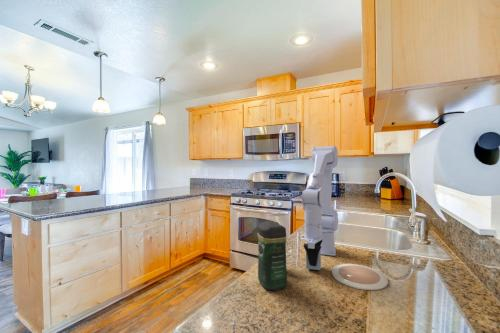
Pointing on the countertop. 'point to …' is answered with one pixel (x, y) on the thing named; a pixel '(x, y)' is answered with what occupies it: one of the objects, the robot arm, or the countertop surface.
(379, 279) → the plate
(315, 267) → the block
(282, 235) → the coffee jar
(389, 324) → the countertop surface
